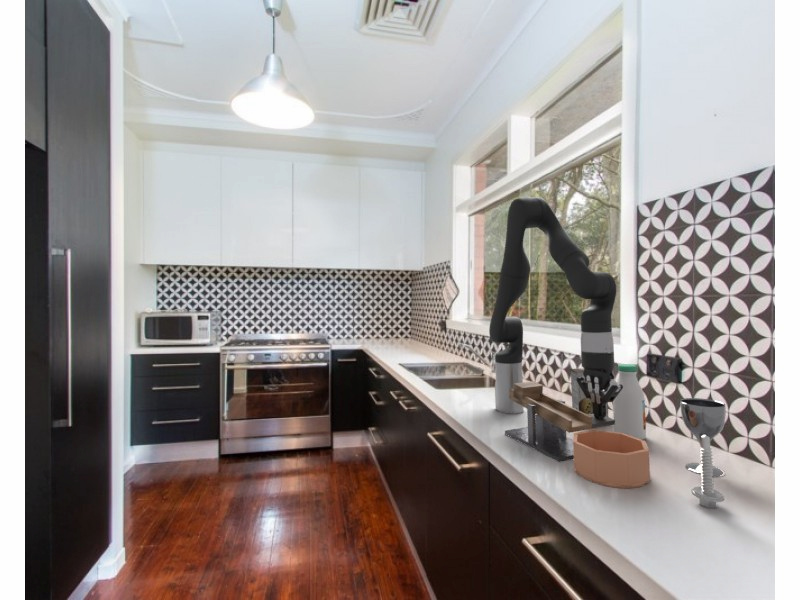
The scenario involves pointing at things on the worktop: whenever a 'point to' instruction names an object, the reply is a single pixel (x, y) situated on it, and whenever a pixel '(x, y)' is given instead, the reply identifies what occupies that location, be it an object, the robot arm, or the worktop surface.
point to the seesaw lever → (555, 409)
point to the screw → (707, 478)
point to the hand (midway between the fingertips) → (599, 417)
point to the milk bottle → (629, 404)
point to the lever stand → (544, 437)
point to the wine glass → (703, 423)
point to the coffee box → (581, 394)
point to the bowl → (611, 459)
